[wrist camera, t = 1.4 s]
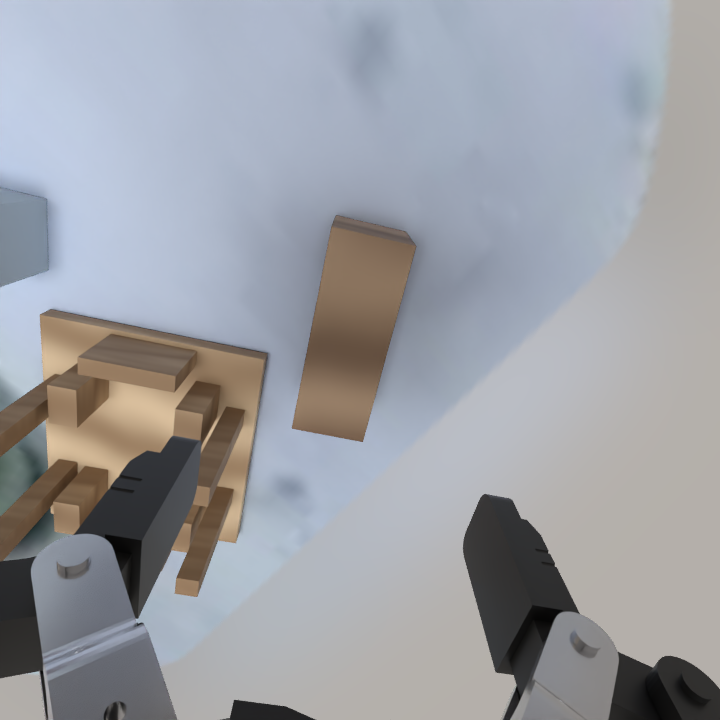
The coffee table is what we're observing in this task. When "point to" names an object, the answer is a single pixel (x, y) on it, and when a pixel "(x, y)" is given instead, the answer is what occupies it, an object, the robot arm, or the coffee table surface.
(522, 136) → the coffee table surface
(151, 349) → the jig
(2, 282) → the gray rectangular block
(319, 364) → the tan wooden beam
